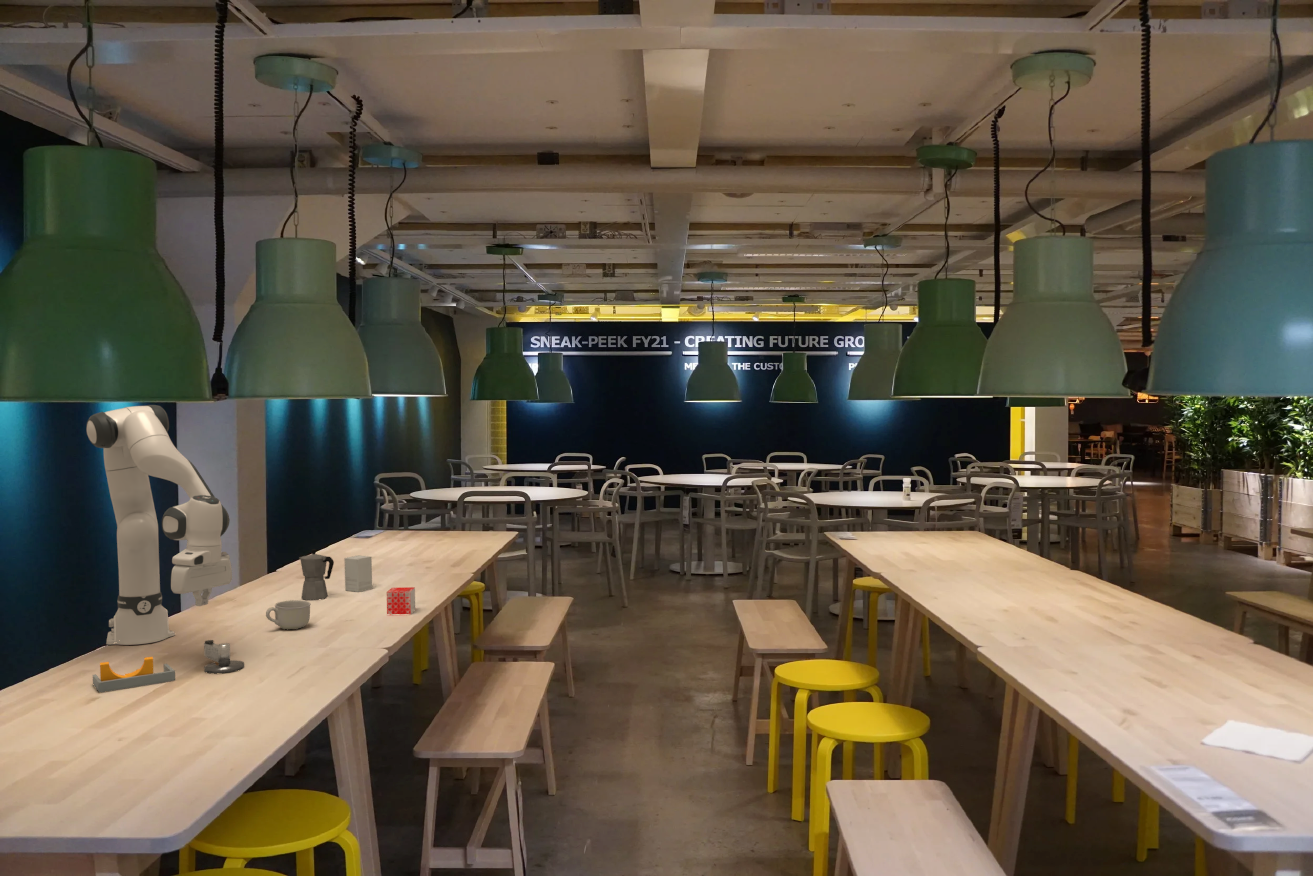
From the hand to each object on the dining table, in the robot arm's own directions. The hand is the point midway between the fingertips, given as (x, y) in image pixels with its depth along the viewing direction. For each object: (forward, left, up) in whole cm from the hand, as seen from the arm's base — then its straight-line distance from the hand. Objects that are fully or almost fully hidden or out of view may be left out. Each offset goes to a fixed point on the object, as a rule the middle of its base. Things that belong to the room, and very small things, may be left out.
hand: (201, 605), depth 281 cm
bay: (+7, -19, -17) cm, 26 cm away
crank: (+4, +3, -15) cm, 16 cm away
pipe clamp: (+8, -20, -17) cm, 28 cm away
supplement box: (-79, +74, -17) cm, 110 cm away
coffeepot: (-73, +56, -17) cm, 93 cm away
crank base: (+8, +3, -17) cm, 19 cm away
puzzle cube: (-30, +70, -17) cm, 78 cm away
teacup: (-30, +32, -17) cm, 47 cm away
